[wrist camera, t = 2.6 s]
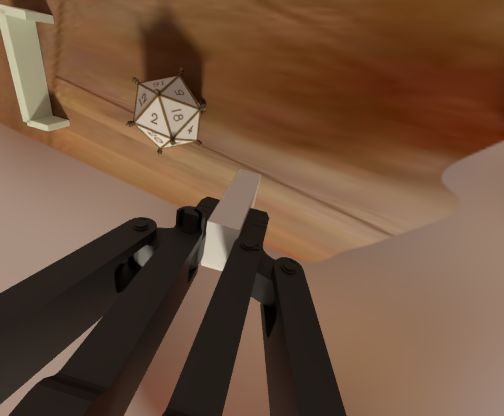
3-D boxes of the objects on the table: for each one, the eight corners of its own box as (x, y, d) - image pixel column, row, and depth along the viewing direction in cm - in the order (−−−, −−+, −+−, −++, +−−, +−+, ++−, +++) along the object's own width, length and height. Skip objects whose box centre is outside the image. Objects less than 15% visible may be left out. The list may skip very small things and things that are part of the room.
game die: (208, 111, 36) (221, 164, 31) (146, 124, 35) (148, 181, 30) (191, 42, 28) (204, 97, 23) (112, 56, 27) (107, 117, 22)
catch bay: (52, 15, 30) (24, 10, 27) (70, 125, 37) (48, 131, 34) (25, 8, 30) (-6, 2, 27) (47, 119, 37) (24, 124, 34)
